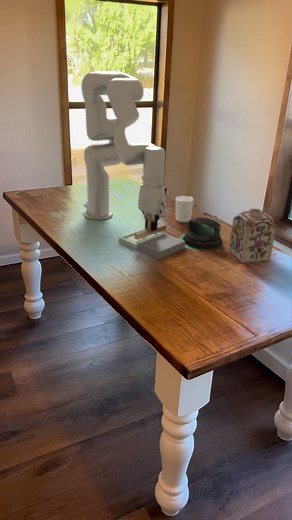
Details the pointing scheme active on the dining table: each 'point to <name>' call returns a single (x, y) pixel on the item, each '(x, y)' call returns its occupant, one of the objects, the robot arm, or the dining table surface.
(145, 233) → the tan bar
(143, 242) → the board
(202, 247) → the dark round cap
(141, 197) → the robot arm
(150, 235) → the tile
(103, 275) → the dining table surface
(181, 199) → the white cup
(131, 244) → the tray
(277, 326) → the dining table surface
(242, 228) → the decorative jar
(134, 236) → the tile
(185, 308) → the dining table surface
